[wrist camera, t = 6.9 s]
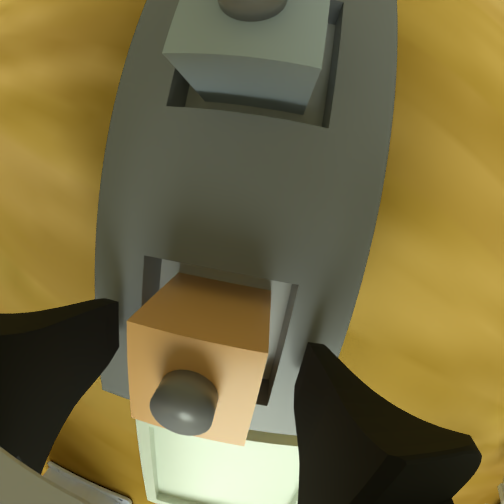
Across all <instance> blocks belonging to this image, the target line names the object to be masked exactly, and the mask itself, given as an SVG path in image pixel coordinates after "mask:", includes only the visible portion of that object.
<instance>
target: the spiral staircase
mask: <svg viewBox="0 0 504 504" xmlns="http://www.w3.org/2000/svg"><path fill="white" fill-rule="evenodd" d="M498 491H499V496H500V500H501V504H504V478H503V482H502V484H500V485H499V486H498Z"/></svg>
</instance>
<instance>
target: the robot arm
mask: <svg viewBox="0 0 504 504" xmlns="http://www.w3.org/2000/svg"><path fill="white" fill-rule="evenodd" d="M119 347H120V346H119V302H117V301H114V300H110V299H107V298H101V299H95V300H90V301H85V302H81V303H76V304H72V305H68V306H63V307H58V308H53V309H48V310H43V311H37V312H29V313H16V314H0V504H132V501H131V500H130V499H129V498H127V497H125V496H122V495H120V494H117V493H115V492H112V491H110V490H108V489H105V488H103V487H101V486H98V485H96V484H94V483H92V482H90V481H87V480H85V479H83V478H81V477H79V476H77V475H75V474H73V473H71V472H69V471H67V470H66V469H64V468H62V467H60V466H58V465H56V464H55V463H53V462H51V461H49V462H48V466H49V468H48V470H47V471H46V472H45V474H44V475H43V476H42V475H41V473H42V470H43V467H44V465H45V462H46V459H47V457H48V455H49V452H50V450H51V448H52V446H53V444H54V441H55V439H56V438H57V436H58V434H59V432H60V430H61V428H62V426H63V424H64V423H65V421H66V419H67V418H68V416H69V414H70V413H71V411H72V409H73V408H74V406H75V405H76V404H77V402H78V401H79V400H80V398H81V397H82V396H83V395H84V394H85V392H86V391H87V390H88V389H89V388H90V386H91V385H92V384H93V383H94V382H95V381H96V379H97V378H98V377H99V376H100V375H101V373H102V372H103V371H104V370H105V369H106V367H107V366H108V365H109V363H110V362H111V360H112V359H113V357H114V355H115V354H116V352H117V350H118V348H119ZM294 416H295V425H296V434H297V443H298V452H299V489H298V504H454V503H453V500H452V497H453V496H454V495H455V494H456V493H457V492H458V491H459V490H460V489H461V488H462V487H463V486H464V485H465V484H466V483H467V482H468V481H469V480H470V478H471V477H472V476H473V475H474V474H475V472H476V471H477V469H478V467H479V465H480V463H481V458H482V455H481V453H480V451H479V450H478V448H477V446H476V445H475V443H474V441H473V440H472V438H471V436H470V435H467V434H463V433H459V432H455V431H452V430H448V429H445V428H441V427H439V426H436V425H433V424H431V423H428V422H426V421H423V420H421V419H419V418H417V417H415V416H413V415H411V414H409V413H407V412H405V411H403V410H402V409H400V408H398V407H396V406H395V405H393V404H391V403H390V402H388V401H387V400H385V399H384V398H383V397H381V396H380V395H378V394H377V393H376V392H374V391H373V390H372V389H370V388H369V387H368V386H367V385H366V384H365V383H363V382H362V381H361V380H360V379H359V378H358V377H357V376H356V375H354V374H353V373H352V372H351V371H350V370H349V369H348V368H347V367H346V366H345V365H344V364H343V363H342V362H341V361H340V360H339V359H338V357H337V356H336V355H335V354H334V353H333V352H332V351H331V350H330V349H329V348H328V347H327V346H326V345H324V344H319V343H312V342H308V343H307V346H306V350H305V353H304V356H303V360H302V363H301V366H300V370H299V373H298V376H297V379H296V382H295V385H294Z"/></svg>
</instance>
